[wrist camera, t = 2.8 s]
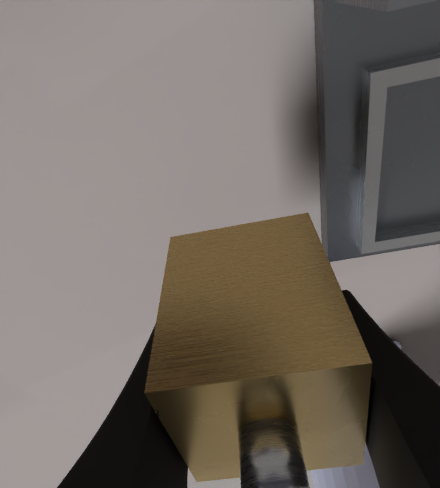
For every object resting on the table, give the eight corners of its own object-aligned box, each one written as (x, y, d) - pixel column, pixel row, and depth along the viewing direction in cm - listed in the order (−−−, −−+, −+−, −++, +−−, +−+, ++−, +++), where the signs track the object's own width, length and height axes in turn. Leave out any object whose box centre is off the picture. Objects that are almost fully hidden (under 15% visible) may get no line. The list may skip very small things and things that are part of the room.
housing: (314, 309, 14) (381, 520, 8) (201, 326, 14) (195, 536, 9) (308, 212, 11) (399, 426, 6) (170, 237, 12) (133, 457, 6)
